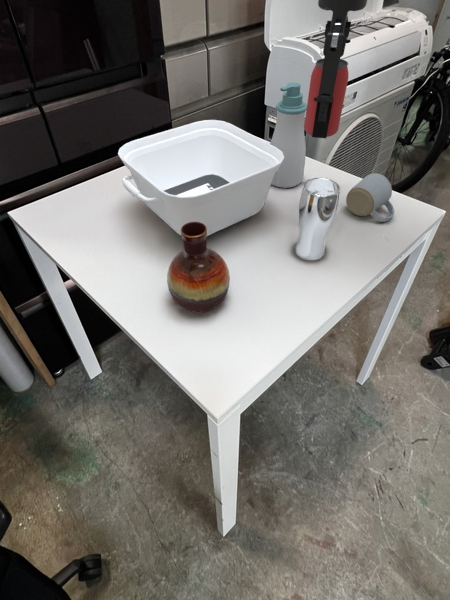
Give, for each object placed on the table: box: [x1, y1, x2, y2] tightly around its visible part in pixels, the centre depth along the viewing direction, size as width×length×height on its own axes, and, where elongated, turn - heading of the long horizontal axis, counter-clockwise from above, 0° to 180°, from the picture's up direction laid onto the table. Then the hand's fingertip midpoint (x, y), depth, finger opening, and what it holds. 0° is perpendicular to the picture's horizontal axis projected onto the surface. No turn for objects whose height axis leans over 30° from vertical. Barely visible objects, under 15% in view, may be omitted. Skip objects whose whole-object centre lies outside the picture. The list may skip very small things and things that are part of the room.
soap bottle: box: [269, 82, 307, 189], centre depth 91 cm, size 10×10×23 cm
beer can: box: [304, 57, 349, 138], centre depth 70 cm, size 7×7×12 cm
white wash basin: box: [117, 119, 284, 237], centre depth 83 cm, size 34×29×15 cm
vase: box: [166, 222, 231, 313], centre depth 64 cm, size 11×11×15 cm
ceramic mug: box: [345, 172, 395, 223], centre depth 85 cm, size 11×8×8 cm
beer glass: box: [294, 177, 341, 261], centre depth 73 cm, size 7×7×15 cm
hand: (321, 129), depth 74 cm, fingers closed on beer can, 7 cm apart
